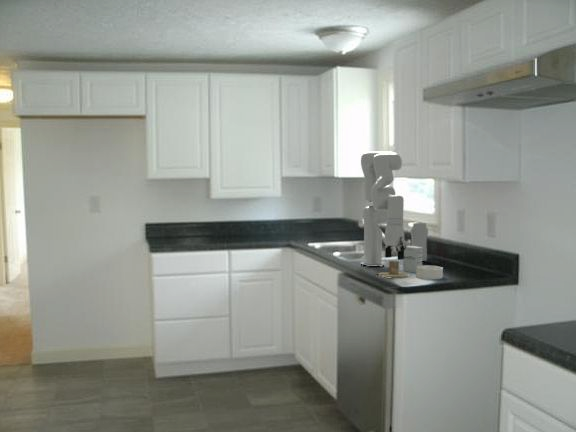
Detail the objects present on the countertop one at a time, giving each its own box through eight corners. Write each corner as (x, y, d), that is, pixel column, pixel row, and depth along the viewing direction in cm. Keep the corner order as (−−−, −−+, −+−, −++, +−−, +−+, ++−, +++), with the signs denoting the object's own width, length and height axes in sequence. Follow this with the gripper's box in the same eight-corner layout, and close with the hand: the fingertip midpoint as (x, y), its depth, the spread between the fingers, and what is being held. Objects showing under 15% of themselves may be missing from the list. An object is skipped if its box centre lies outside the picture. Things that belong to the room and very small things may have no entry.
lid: (373, 274, 288) (373, 260, 287) (396, 272, 294) (397, 258, 293) (390, 279, 276) (390, 264, 275) (414, 277, 281) (414, 262, 281)
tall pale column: (411, 262, 332) (412, 222, 331) (408, 261, 336) (409, 222, 335) (428, 261, 335) (430, 222, 334) (425, 260, 339) (426, 221, 338)
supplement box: (402, 271, 300) (403, 246, 299) (409, 270, 306) (409, 245, 305) (415, 273, 295) (416, 248, 294) (422, 271, 301) (423, 246, 300)
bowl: (411, 276, 285) (412, 266, 285) (431, 275, 290) (431, 264, 290) (427, 281, 275) (427, 270, 275) (447, 279, 280) (447, 268, 280)
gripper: (377, 221, 289) (377, 256, 289) (399, 223, 273) (399, 260, 274) (390, 220, 292) (390, 256, 293) (413, 222, 276) (412, 260, 277)
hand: (394, 258), depth 283 cm, fingers open, 9 cm apart
